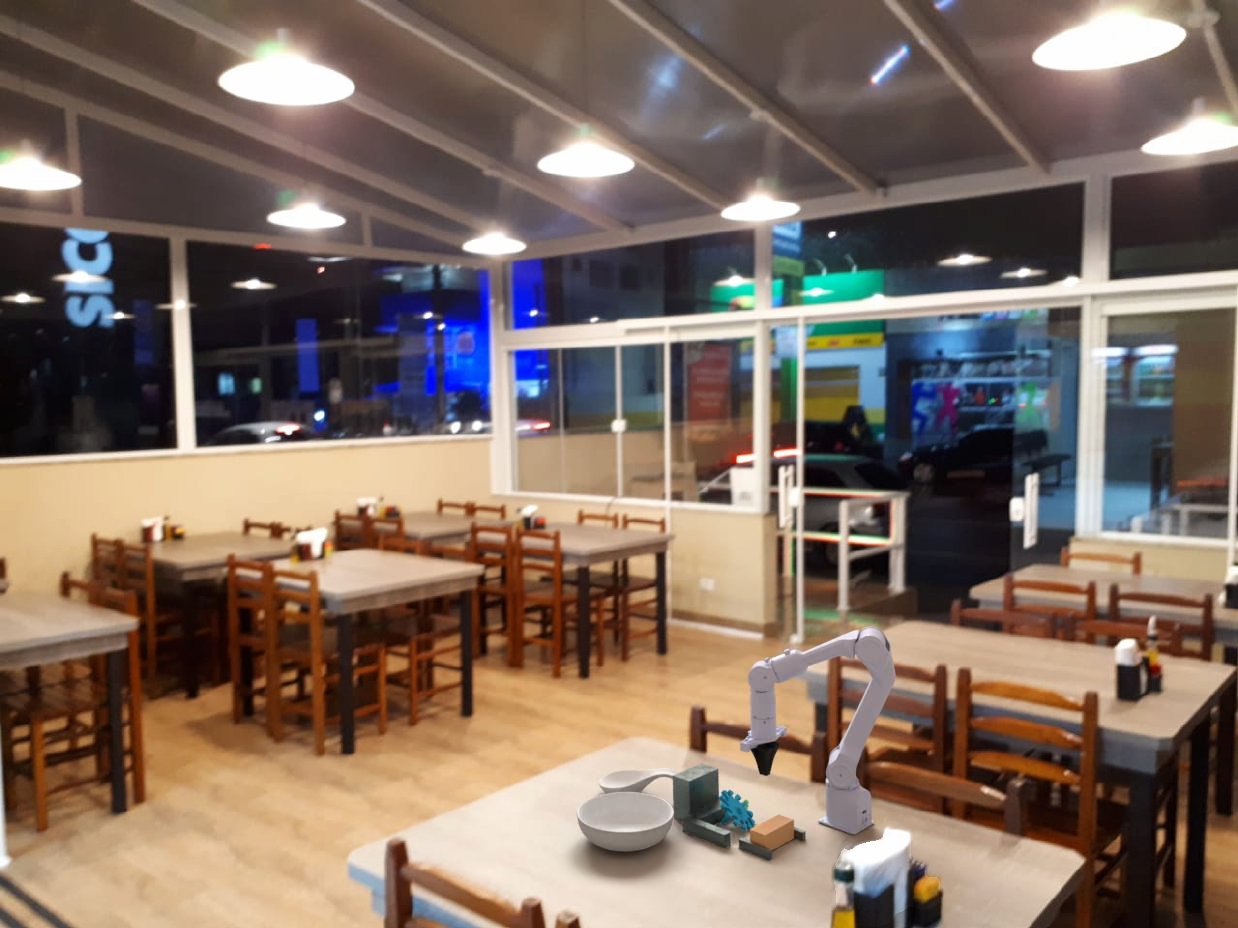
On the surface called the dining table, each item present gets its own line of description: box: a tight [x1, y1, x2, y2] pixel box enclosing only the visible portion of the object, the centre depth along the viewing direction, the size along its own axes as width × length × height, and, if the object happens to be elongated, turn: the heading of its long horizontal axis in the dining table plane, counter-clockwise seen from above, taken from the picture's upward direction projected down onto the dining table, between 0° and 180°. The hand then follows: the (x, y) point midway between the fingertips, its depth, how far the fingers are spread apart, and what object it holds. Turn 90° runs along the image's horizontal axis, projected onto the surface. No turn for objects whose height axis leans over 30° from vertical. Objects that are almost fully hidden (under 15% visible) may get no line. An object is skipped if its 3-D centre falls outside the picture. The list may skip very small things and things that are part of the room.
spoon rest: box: [598, 767, 681, 794], centre depth 229 cm, size 24×12×7 cm, turn 69°
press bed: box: [672, 762, 807, 862], centre depth 208 cm, size 28×15×10 cm, turn 44°
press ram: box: [749, 814, 795, 851], centre depth 202 cm, size 4×10×4 cm, turn 134°
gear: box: [719, 789, 756, 832], centre depth 212 cm, size 11×6×10 cm
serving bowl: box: [576, 792, 674, 852], centre depth 206 cm, size 21×21×7 cm
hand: (764, 774), depth 216 cm, fingers closed
